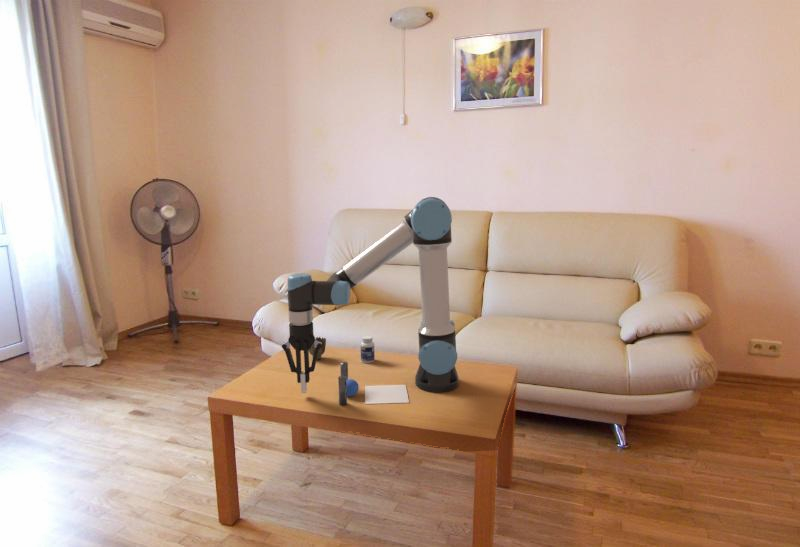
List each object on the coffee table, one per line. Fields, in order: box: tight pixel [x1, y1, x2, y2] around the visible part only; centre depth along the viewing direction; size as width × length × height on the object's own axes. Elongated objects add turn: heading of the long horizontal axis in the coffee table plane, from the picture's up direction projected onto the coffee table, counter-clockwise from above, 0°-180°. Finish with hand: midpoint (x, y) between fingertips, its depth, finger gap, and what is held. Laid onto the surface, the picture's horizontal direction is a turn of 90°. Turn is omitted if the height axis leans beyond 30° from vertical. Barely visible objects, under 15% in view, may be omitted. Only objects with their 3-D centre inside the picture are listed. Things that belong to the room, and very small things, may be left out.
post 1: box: [339, 361, 349, 380], centre depth 173 cm, size 2×2×9 cm
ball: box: [346, 378, 360, 397], centre depth 168 cm, size 6×6×6 cm
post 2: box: [337, 375, 348, 406], centre depth 161 cm, size 2×2×9 cm
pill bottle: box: [360, 335, 375, 364], centre depth 199 cm, size 5×5×10 cm
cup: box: [309, 336, 327, 361], centre depth 201 cm, size 8×7×8 cm
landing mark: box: [364, 384, 410, 405], centre depth 169 cm, size 14×14×1 cm
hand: (303, 391), depth 167 cm, fingers closed
